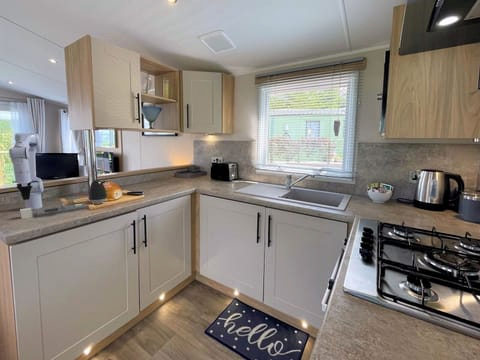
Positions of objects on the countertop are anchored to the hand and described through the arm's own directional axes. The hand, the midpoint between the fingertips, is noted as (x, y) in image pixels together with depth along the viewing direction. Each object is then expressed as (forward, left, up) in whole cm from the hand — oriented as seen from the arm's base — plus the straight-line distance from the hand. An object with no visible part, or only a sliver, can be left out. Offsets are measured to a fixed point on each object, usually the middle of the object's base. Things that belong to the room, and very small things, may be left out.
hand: (26, 198), depth 117 cm
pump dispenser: (-5, +33, -10) cm, 35 cm away
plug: (+3, -1, -10) cm, 10 cm away
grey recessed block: (+3, +14, -10) cm, 17 cm away
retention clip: (+6, +14, -4) cm, 16 cm away
